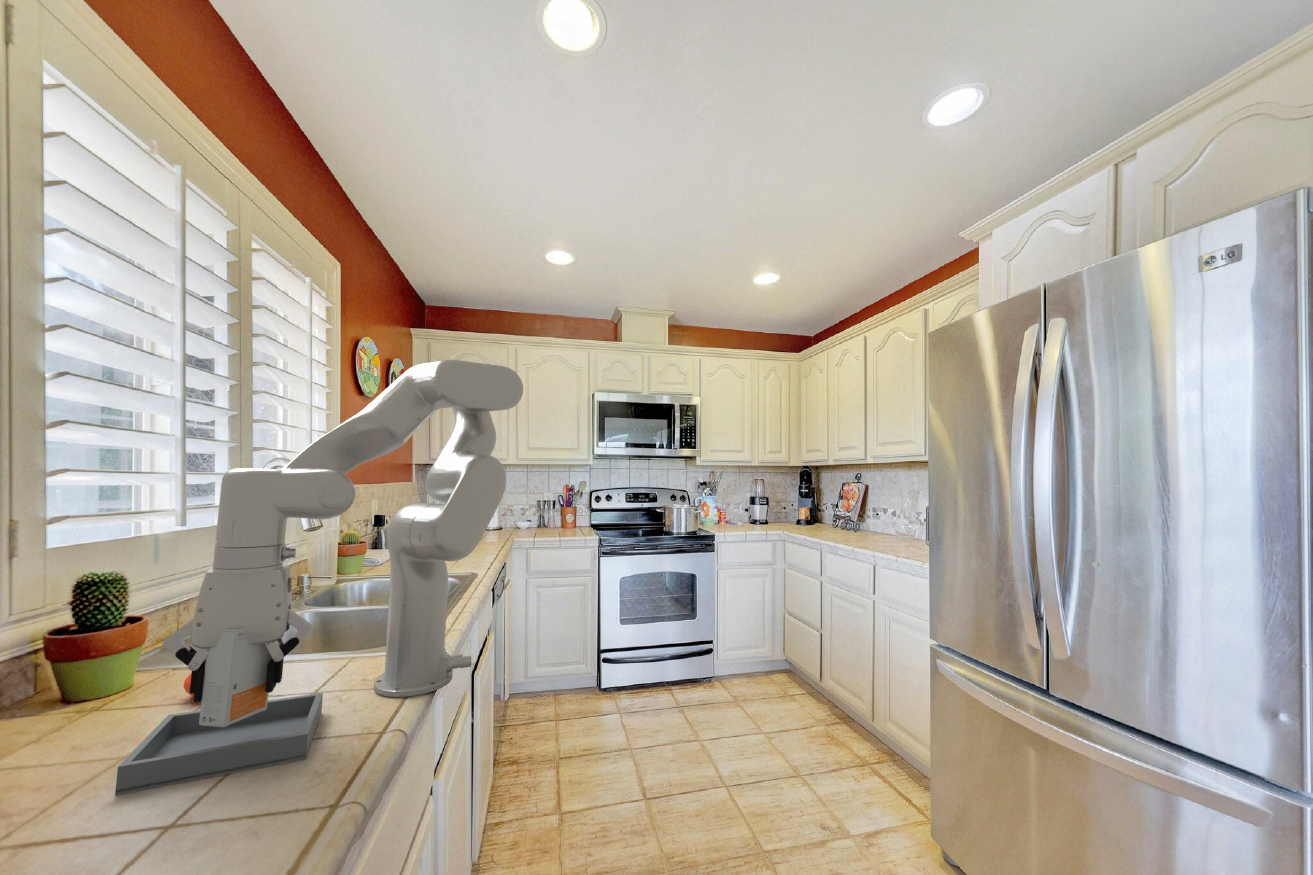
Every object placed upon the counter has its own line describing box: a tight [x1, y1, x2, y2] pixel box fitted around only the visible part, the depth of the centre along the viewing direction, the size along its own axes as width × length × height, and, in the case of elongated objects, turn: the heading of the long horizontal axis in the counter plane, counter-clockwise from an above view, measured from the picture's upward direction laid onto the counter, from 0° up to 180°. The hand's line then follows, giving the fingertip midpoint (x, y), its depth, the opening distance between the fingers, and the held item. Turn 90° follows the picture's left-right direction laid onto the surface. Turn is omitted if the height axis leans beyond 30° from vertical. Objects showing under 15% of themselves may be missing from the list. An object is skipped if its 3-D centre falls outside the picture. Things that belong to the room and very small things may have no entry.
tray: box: [114, 692, 324, 797], centre depth 68 cm, size 18×14×3 cm
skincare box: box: [199, 628, 271, 727], centre depth 68 cm, size 6×4×12 cm
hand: (236, 692), depth 68 cm, fingers closed on skincare box, 6 cm apart
